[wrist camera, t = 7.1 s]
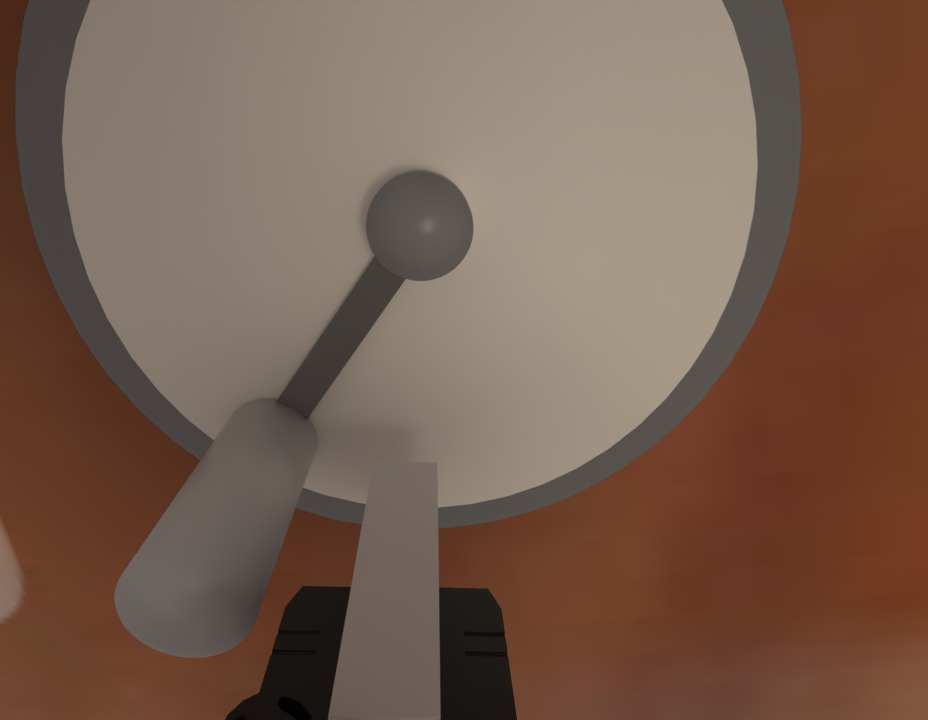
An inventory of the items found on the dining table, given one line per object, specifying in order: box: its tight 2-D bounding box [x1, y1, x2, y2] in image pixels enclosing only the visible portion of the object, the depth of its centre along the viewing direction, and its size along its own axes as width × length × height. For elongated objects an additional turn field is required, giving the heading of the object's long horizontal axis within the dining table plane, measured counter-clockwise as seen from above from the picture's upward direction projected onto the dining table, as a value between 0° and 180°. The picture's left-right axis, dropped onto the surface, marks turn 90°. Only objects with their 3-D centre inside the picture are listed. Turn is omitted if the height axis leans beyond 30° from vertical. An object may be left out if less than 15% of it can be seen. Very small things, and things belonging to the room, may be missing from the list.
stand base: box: [15, 0, 802, 528], centre depth 17 cm, size 20×20×2 cm
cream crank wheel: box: [62, 0, 758, 658], centre depth 12 cm, size 16×16×8 cm
